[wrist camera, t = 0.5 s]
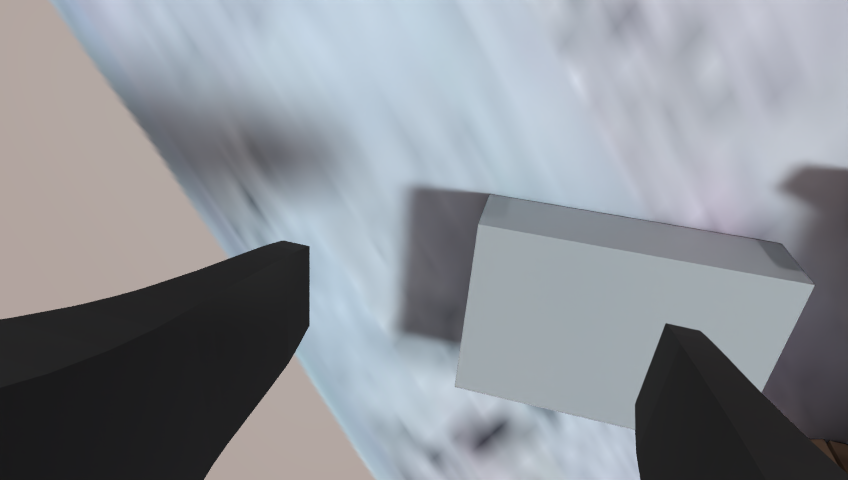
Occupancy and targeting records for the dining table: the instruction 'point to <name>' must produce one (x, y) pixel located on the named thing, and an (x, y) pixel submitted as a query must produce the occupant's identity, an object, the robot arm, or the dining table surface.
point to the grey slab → (613, 304)
